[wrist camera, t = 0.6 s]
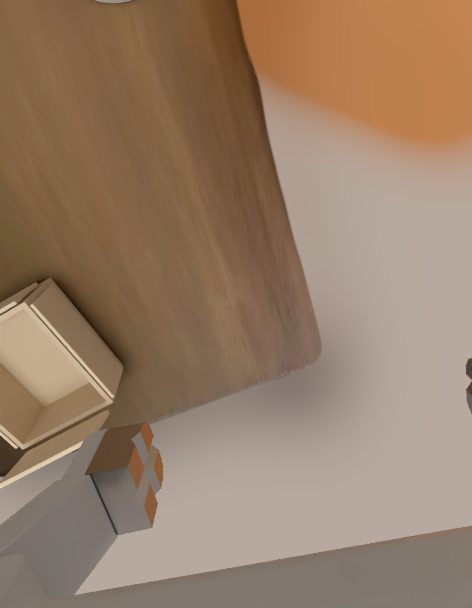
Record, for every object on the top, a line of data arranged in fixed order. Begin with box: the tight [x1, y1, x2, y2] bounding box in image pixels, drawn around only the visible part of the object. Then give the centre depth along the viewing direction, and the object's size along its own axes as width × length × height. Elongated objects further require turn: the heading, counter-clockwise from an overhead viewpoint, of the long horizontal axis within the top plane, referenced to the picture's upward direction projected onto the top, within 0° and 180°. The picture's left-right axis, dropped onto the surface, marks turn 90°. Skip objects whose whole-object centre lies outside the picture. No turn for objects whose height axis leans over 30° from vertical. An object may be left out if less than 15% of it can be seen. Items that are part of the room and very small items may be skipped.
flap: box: [0, 410, 110, 488], centre depth 44 cm, size 6×12×1 cm
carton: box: [0, 277, 124, 449], centre depth 47 cm, size 17×15×8 cm
